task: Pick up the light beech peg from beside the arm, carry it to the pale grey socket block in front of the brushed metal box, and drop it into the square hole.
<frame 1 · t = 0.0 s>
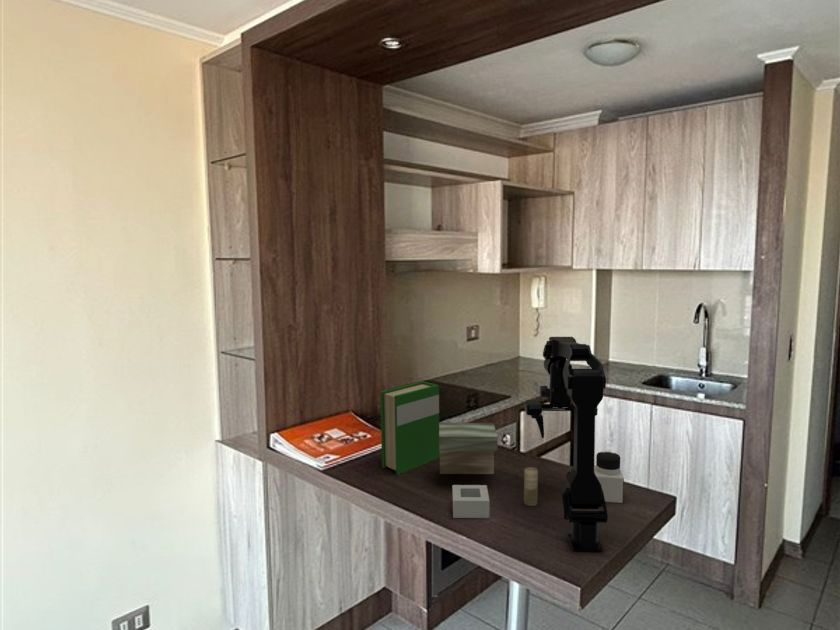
hand: (559, 438, 151), 15 cm above the countertop, tool pointing down, fingers open, 9 cm apart
peg: (530, 502, 145), on the countertop
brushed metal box: (467, 479, 159), on the countertop
hardback book: (411, 463, 172), on the countertop
socket block: (470, 509, 142), on the countertop
medicine bottle: (607, 497, 148), on the countertop
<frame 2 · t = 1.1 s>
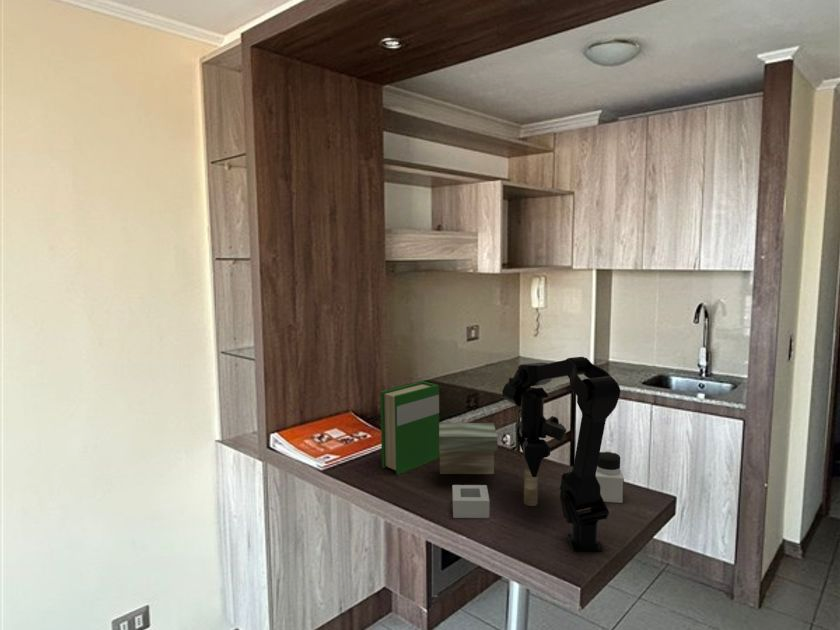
hand: (531, 469, 144), 9 cm above the countertop, tool pointing down, fingers open, 9 cm apart
nothing on the countertop moved.
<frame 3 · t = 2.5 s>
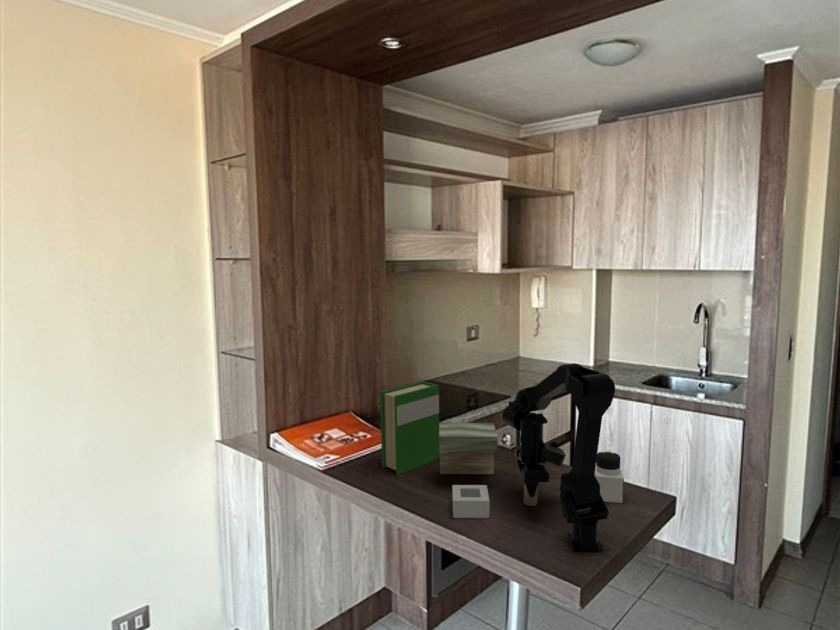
hand: (530, 493, 145), 3 cm above the countertop, tool pointing down, fingers closed on peg, 3 cm apart
peg: (530, 502, 145), on the countertop, touching gripper
everything else where it was.
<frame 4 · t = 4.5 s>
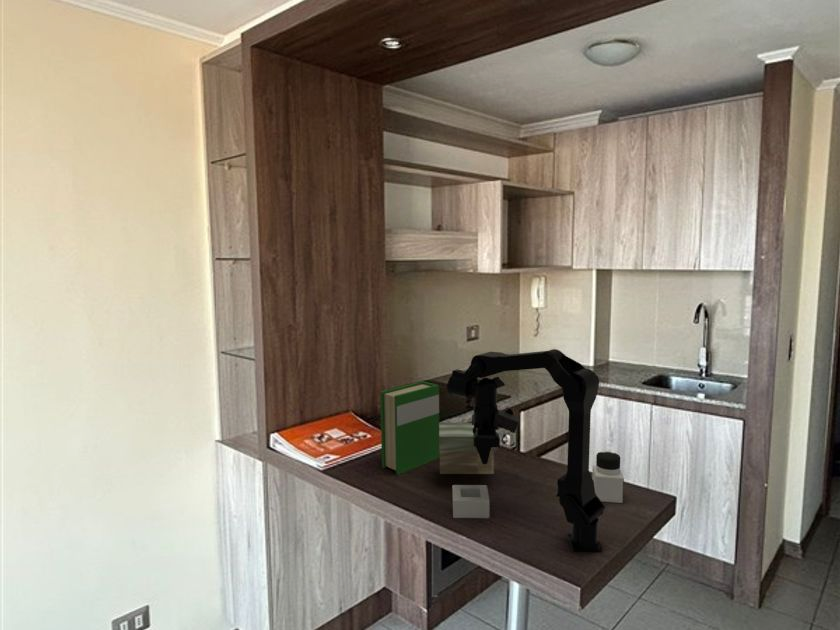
hand: (484, 461, 141), 12 cm above the countertop, tool pointing down, fingers closed on peg, 3 cm apart
peg: (484, 470, 142), point 10 cm above the countertop, touching gripper
everything else where it was.
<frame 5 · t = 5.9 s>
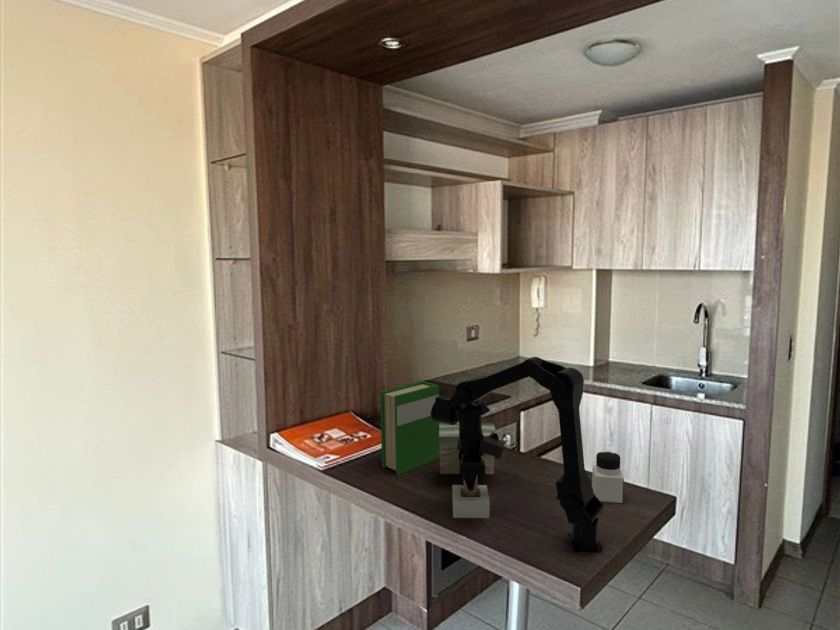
hand: (470, 487, 141), 6 cm above the countertop, tool pointing down, fingers closed on peg, 3 cm apart
peg: (470, 496, 141), point 4 cm above the countertop, touching gripper
everything else where it was.
when the fingers open (5 cm above the countertop, at t = 7.0 s): peg drops 3 cm, resting in socket block.
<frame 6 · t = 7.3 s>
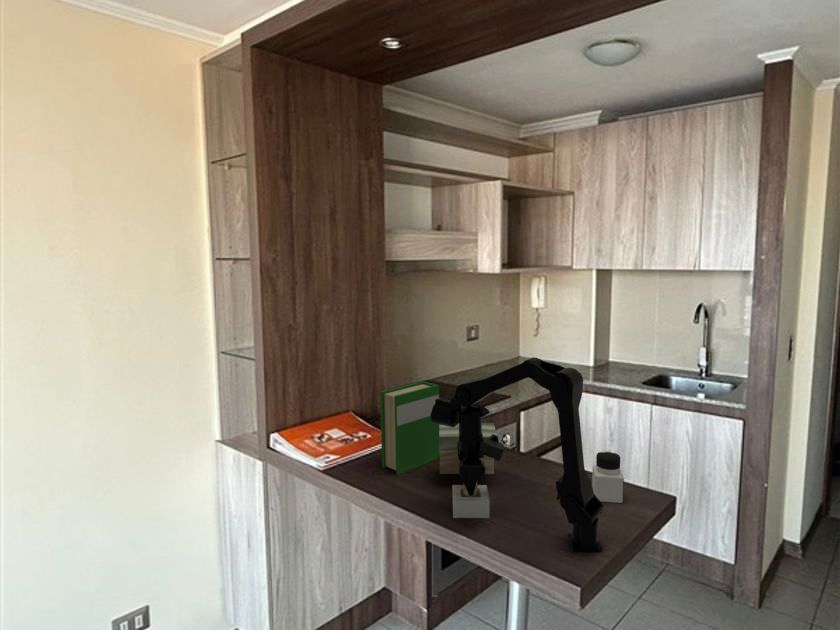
hand: (470, 489, 141), 5 cm above the countertop, tool pointing down, fingers open, 7 cm apart
peg: (470, 509, 142), resting in socket block
everything else where it was.
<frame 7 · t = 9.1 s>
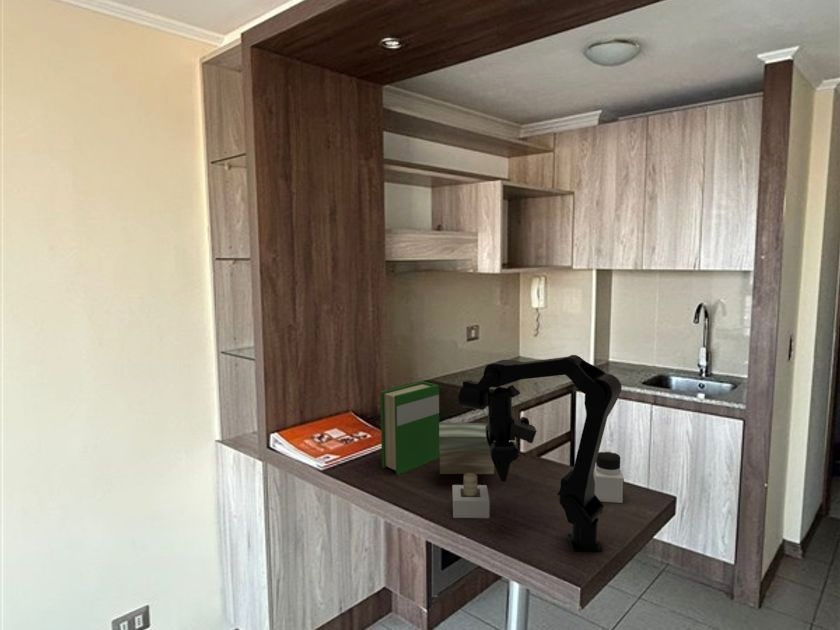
hand: (501, 473, 136), 11 cm above the countertop, tool pointing down, fingers open, 9 cm apart
nothing on the countertop moved.
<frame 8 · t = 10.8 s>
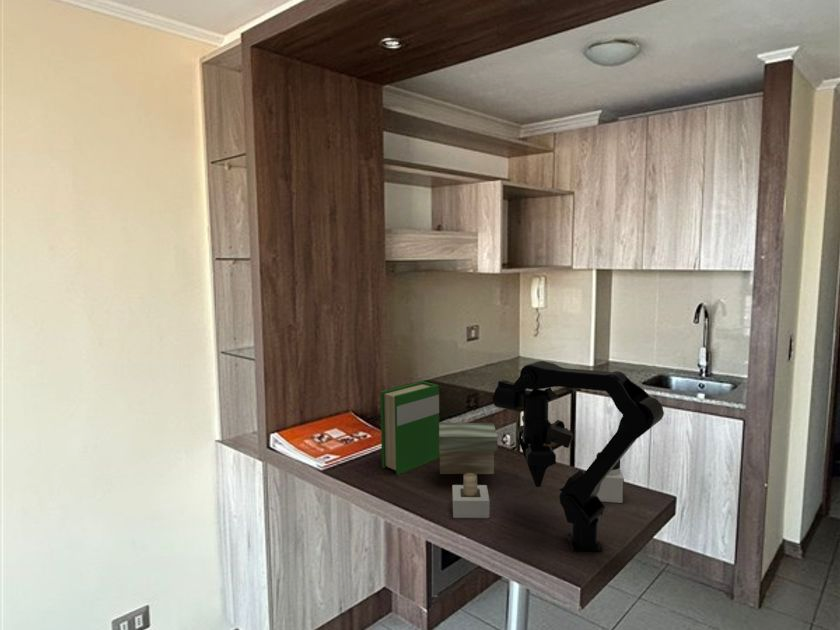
hand: (534, 478, 132), 12 cm above the countertop, tool pointing down, fingers open, 9 cm apart
nothing on the countertop moved.
at the end: peg 0.0 cm off-centre on the socket block, point 0.0 cm above the socket block's base; peg tilted 0°; the gripper is holding nothing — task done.
